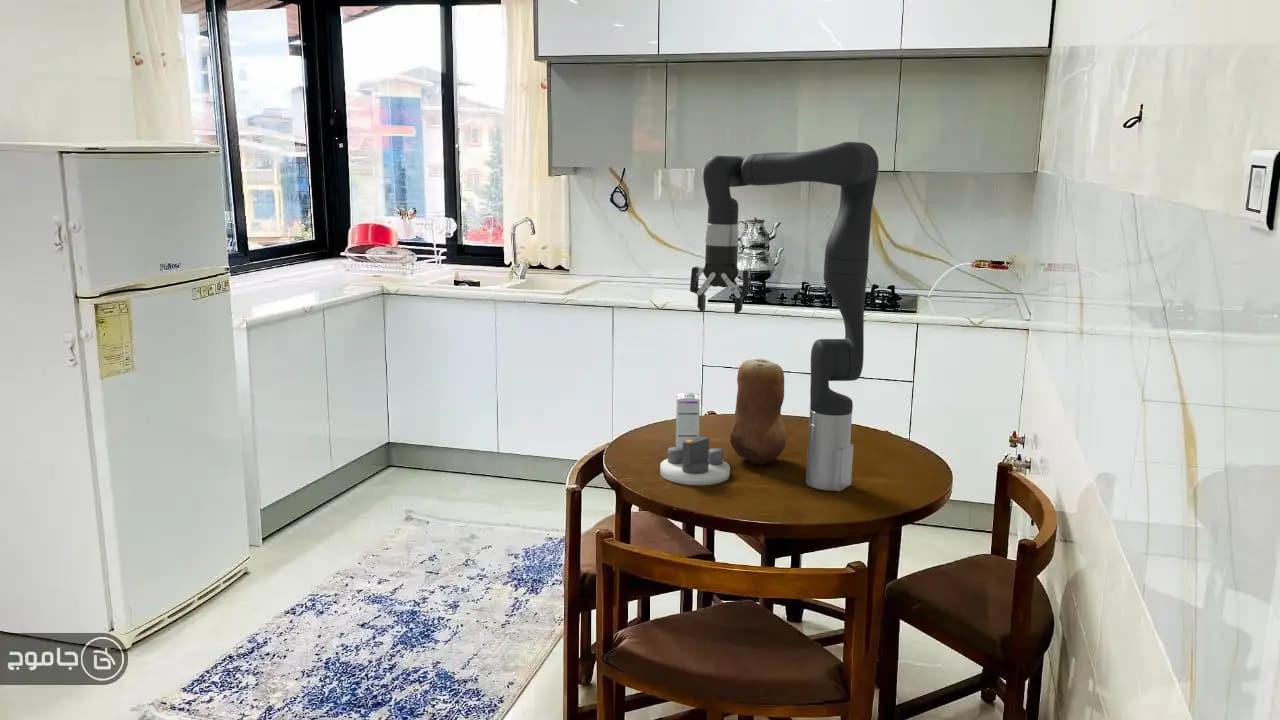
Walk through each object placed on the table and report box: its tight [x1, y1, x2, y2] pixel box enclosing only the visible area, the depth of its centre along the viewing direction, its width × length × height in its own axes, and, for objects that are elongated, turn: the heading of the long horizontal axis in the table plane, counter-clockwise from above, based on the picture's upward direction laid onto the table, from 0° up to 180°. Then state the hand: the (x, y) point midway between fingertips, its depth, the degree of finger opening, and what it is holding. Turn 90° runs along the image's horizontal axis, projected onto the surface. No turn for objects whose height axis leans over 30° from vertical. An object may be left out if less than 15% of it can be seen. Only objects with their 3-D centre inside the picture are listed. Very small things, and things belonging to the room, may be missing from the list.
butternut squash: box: [729, 358, 787, 465], centre depth 227 cm, size 14×13×25 cm
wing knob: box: [682, 435, 710, 474], centre depth 214 cm, size 7×6×7 cm
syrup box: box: [675, 392, 701, 448], centre depth 234 cm, size 6×6×14 cm
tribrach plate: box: [659, 446, 731, 486], centre depth 219 cm, size 16×16×5 cm
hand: (719, 312), depth 224 cm, fingers open, 8 cm apart
